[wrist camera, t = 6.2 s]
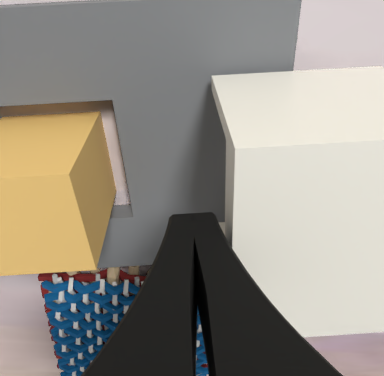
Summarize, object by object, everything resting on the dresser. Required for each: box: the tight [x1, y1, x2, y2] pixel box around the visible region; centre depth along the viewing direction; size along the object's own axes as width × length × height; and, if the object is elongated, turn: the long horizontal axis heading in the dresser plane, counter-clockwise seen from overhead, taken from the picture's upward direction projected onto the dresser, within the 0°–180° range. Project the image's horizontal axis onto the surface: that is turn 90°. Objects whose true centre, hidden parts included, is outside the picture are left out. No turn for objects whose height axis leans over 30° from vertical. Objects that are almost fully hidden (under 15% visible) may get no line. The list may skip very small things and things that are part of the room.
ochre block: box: [0, 111, 116, 276], centre depth 13 cm, size 4×4×5 cm
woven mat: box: [38, 266, 209, 376], centre depth 21 cm, size 10×11×2 cm
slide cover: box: [211, 66, 384, 337], centre depth 12 cm, size 6×7×6 cm
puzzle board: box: [0, 0, 301, 268], centre depth 15 cm, size 18×12×1 cm, turn 92°
